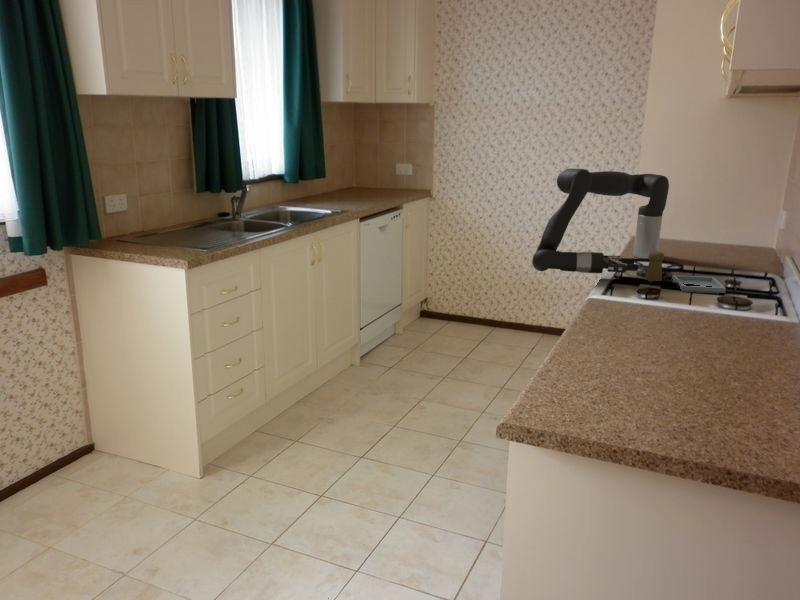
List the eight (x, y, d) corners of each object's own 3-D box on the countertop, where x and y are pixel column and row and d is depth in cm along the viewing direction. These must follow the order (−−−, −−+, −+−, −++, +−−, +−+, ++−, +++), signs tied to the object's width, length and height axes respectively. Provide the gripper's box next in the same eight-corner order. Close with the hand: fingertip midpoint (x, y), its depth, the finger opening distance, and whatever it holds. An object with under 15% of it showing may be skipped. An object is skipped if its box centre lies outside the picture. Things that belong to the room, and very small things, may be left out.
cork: (664, 284, 231) (668, 253, 227) (647, 283, 231) (651, 253, 227) (658, 279, 236) (662, 249, 233) (641, 279, 236) (645, 249, 233)
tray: (671, 280, 235) (672, 275, 235) (713, 282, 233) (713, 277, 233) (681, 291, 222) (681, 286, 222) (724, 294, 220) (725, 288, 219)
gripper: (592, 257, 228) (640, 259, 225) (587, 247, 241) (633, 249, 238) (590, 278, 230) (638, 280, 227) (586, 267, 243) (631, 269, 241)
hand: (636, 264), depth 233 cm, fingers open, 8 cm apart
